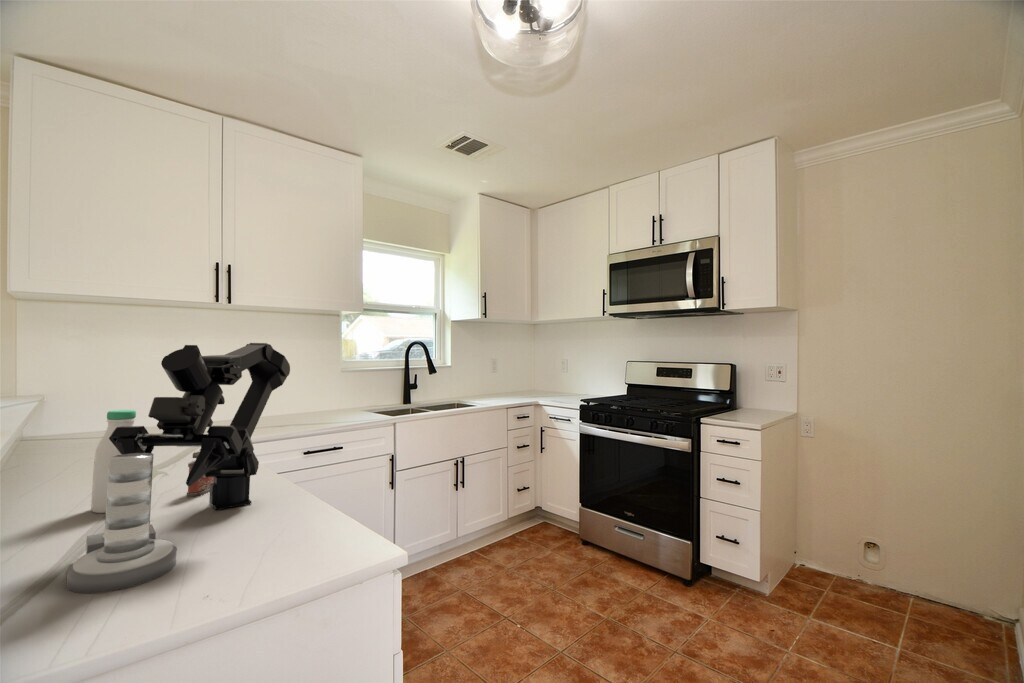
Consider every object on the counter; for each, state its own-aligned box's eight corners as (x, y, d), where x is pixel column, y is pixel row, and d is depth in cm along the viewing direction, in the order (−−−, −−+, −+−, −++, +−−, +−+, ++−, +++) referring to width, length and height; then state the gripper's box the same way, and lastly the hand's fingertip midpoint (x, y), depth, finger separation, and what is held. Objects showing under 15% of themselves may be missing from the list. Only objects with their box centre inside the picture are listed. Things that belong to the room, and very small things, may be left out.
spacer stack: (161, 542, 70) (166, 451, 71) (143, 559, 64) (148, 459, 65) (110, 547, 68) (115, 453, 69) (86, 565, 62) (92, 461, 63)
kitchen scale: (165, 540, 78) (166, 519, 78) (182, 573, 66) (183, 548, 66) (67, 560, 69) (69, 537, 70) (66, 603, 58) (67, 574, 58)
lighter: (203, 488, 110) (205, 446, 110) (218, 487, 110) (220, 446, 111) (182, 497, 102) (184, 452, 102) (198, 497, 102) (200, 452, 103)
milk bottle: (148, 505, 96) (153, 410, 97) (103, 516, 89) (109, 413, 90) (128, 500, 99) (133, 407, 100) (82, 510, 92) (89, 411, 93)
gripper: (119, 378, 77) (62, 458, 66) (238, 379, 80) (203, 456, 69) (147, 419, 85) (100, 496, 74) (254, 418, 88) (225, 493, 76)
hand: (156, 485), depth 73 cm, fingers open, 9 cm apart
